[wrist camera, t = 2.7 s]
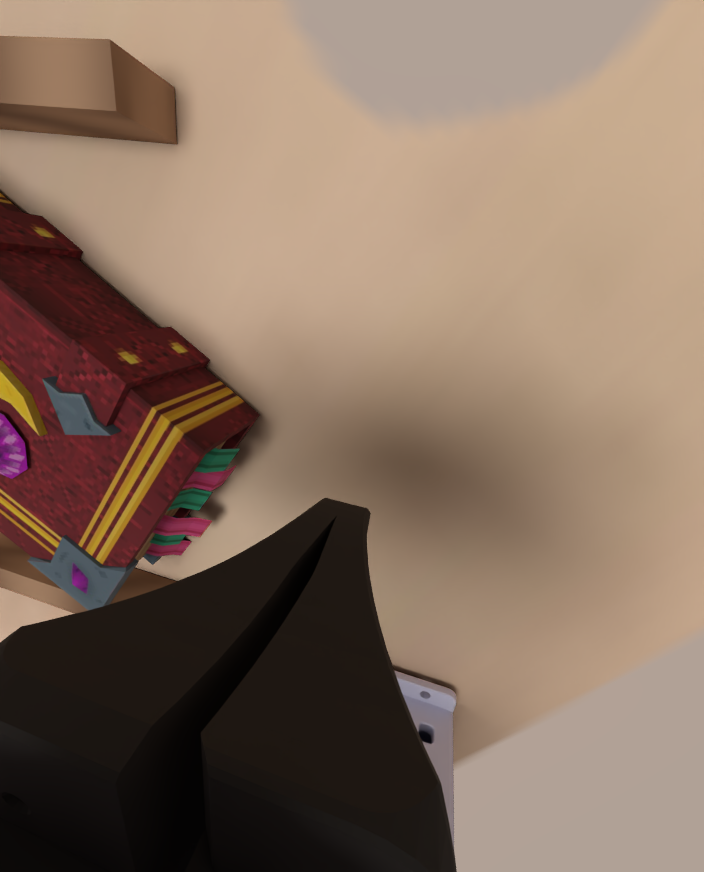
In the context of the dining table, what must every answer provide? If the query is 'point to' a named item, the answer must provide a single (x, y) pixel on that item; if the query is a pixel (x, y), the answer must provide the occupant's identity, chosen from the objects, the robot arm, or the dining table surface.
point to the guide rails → (83, 116)
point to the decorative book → (99, 420)
